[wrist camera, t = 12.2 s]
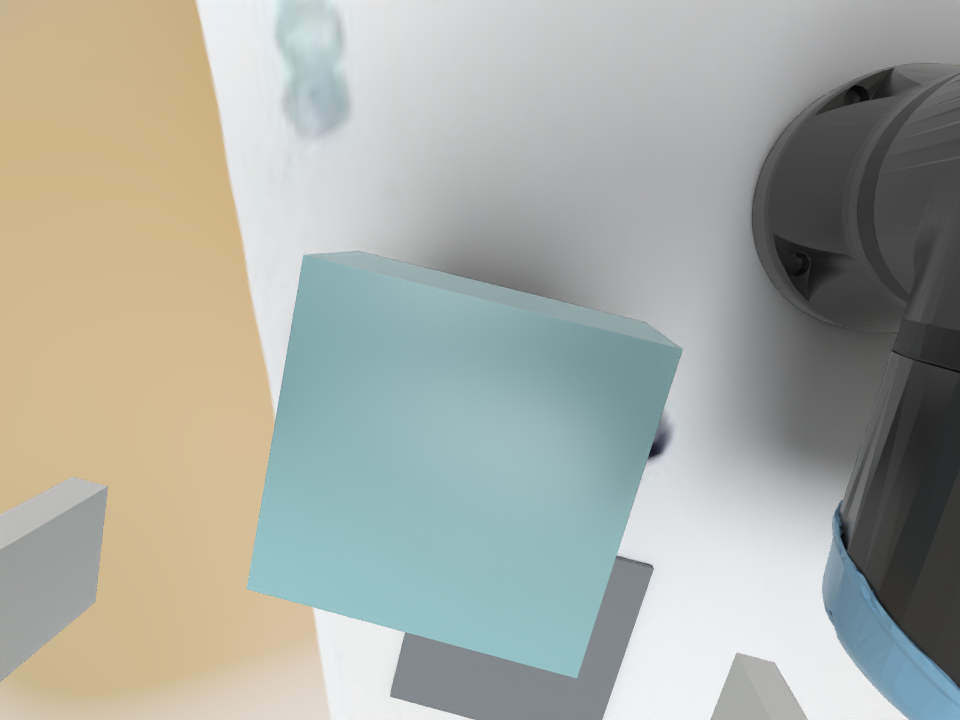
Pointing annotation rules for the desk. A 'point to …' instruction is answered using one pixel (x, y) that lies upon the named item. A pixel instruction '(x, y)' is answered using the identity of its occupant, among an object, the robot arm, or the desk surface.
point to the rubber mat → (526, 667)
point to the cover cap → (455, 456)
